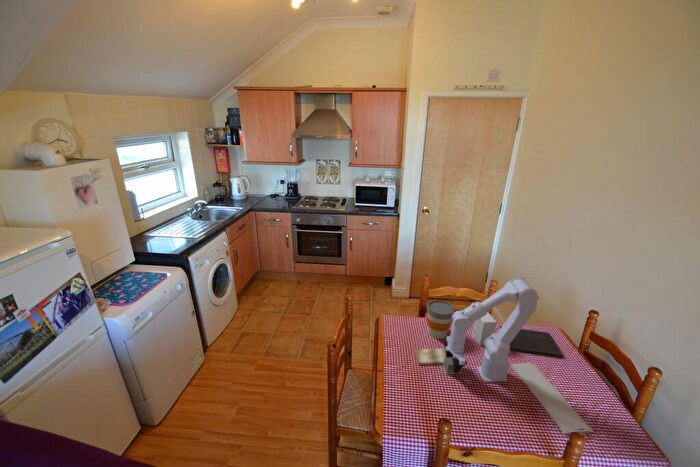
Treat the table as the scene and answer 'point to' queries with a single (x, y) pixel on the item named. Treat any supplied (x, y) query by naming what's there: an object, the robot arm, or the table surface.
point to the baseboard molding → (551, 399)
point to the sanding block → (449, 365)
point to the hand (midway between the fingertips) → (452, 365)
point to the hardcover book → (535, 343)
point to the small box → (483, 328)
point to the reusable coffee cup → (439, 318)
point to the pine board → (430, 356)
